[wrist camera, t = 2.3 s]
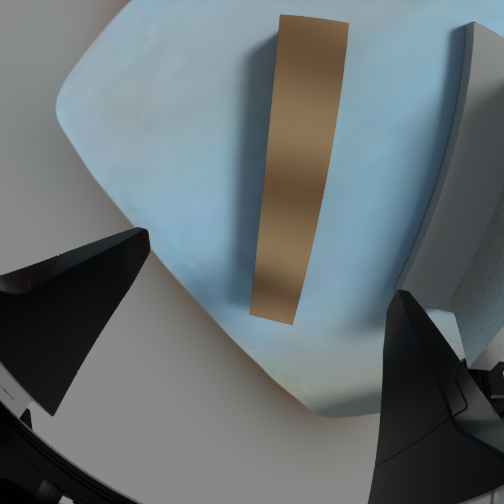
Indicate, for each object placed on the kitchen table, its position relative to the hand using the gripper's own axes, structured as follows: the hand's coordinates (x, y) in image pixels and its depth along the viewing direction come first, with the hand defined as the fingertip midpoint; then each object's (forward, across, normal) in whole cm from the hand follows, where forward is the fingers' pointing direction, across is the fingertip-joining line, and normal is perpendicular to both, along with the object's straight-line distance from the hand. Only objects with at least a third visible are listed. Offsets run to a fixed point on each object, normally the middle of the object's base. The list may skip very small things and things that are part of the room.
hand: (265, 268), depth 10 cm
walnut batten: (+9, 0, 0) cm, 9 cm away
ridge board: (+9, -13, -3) cm, 16 cm away
